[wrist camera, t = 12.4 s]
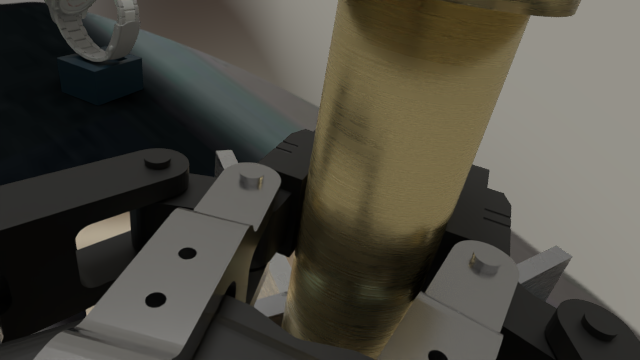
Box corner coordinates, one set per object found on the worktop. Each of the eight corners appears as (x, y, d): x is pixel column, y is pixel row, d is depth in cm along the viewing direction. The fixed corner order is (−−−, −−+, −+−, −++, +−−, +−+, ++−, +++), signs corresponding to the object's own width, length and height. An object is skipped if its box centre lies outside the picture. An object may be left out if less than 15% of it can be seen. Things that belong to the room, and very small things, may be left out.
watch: (94, 71, 46) (81, -48, 40) (157, 94, 44) (153, -28, 38) (45, 85, 42) (22, -46, 36) (112, 112, 39) (100, -24, 34)
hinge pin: (224, 412, 16) (274, -136, 7) (332, 371, 18) (463, -94, 10) (275, 552, 13) (454, -121, 4) (397, 481, 15) (675, -62, 7)
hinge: (138, 257, 24) (132, 160, 21) (383, 207, 32) (405, 130, 29) (249, 635, 13) (271, 547, 9) (587, 412, 20) (661, 323, 17)
